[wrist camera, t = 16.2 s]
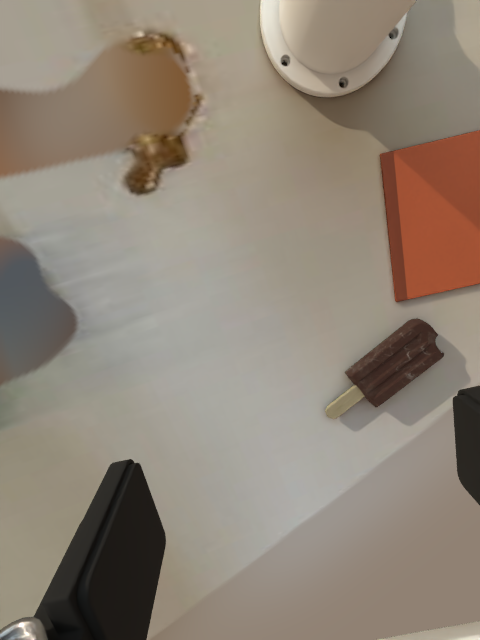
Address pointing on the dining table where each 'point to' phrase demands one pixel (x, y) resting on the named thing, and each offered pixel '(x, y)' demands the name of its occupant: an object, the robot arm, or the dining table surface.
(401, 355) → the ice cream bar
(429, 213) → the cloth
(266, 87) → the dining table surface
